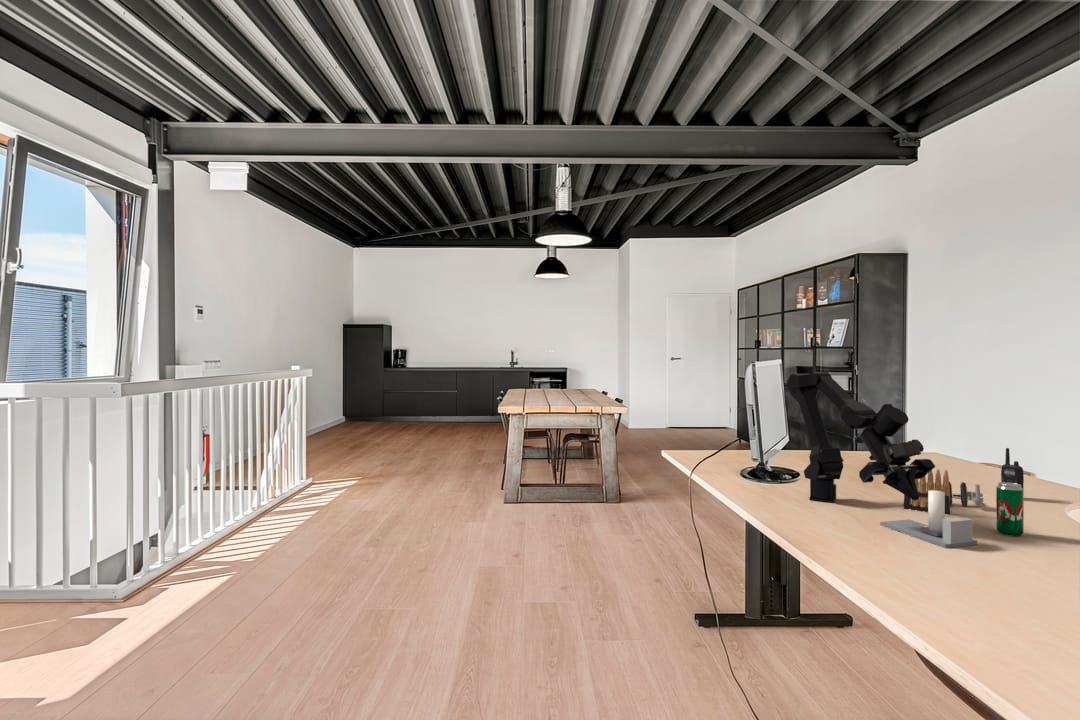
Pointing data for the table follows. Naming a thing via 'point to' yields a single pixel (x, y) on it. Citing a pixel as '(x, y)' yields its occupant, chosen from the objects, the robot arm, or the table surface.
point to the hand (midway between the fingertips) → (916, 499)
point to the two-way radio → (1012, 471)
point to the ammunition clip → (923, 492)
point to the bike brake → (967, 495)
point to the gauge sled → (935, 513)
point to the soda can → (1010, 509)
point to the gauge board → (953, 536)
